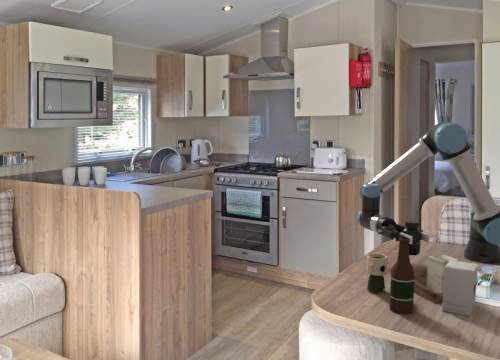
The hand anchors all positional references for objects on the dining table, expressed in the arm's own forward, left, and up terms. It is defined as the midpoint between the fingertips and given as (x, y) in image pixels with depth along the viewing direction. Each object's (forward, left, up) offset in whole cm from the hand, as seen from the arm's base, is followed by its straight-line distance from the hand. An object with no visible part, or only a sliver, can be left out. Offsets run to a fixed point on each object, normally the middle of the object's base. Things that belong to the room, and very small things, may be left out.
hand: (420, 239), depth 178 cm
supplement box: (+1, +22, -18) cm, 28 cm away
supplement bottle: (0, -5, -7) cm, 8 cm away
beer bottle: (+19, +16, -18) cm, 31 cm away
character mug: (+17, -1, -18) cm, 25 cm away
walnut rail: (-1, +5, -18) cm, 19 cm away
